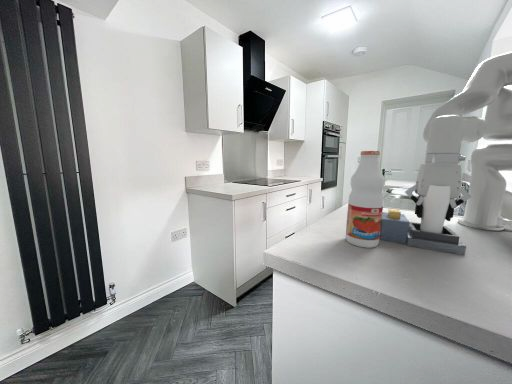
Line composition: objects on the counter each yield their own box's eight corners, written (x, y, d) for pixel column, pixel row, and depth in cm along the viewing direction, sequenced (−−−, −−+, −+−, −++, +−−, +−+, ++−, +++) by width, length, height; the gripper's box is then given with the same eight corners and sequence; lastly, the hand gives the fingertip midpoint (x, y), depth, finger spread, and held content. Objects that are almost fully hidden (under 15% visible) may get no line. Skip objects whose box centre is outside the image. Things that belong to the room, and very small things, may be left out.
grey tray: (447, 239, 70) (452, 212, 68) (464, 254, 58) (470, 223, 57) (372, 228, 79) (374, 205, 78) (373, 240, 68) (376, 213, 66)
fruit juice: (367, 236, 71) (376, 151, 67) (385, 248, 62) (397, 150, 57) (340, 236, 71) (347, 151, 66) (354, 248, 61) (363, 150, 57)
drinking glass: (419, 227, 71) (425, 182, 69) (445, 232, 66) (453, 184, 64) (415, 231, 66) (421, 184, 64) (443, 237, 62) (451, 186, 59)
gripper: (474, 160, 62) (464, 219, 65) (403, 159, 70) (397, 212, 73) (488, 160, 56) (475, 226, 59) (408, 159, 63) (401, 217, 66)
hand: (432, 217), depth 66 cm, fingers closed on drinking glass, 6 cm apart
